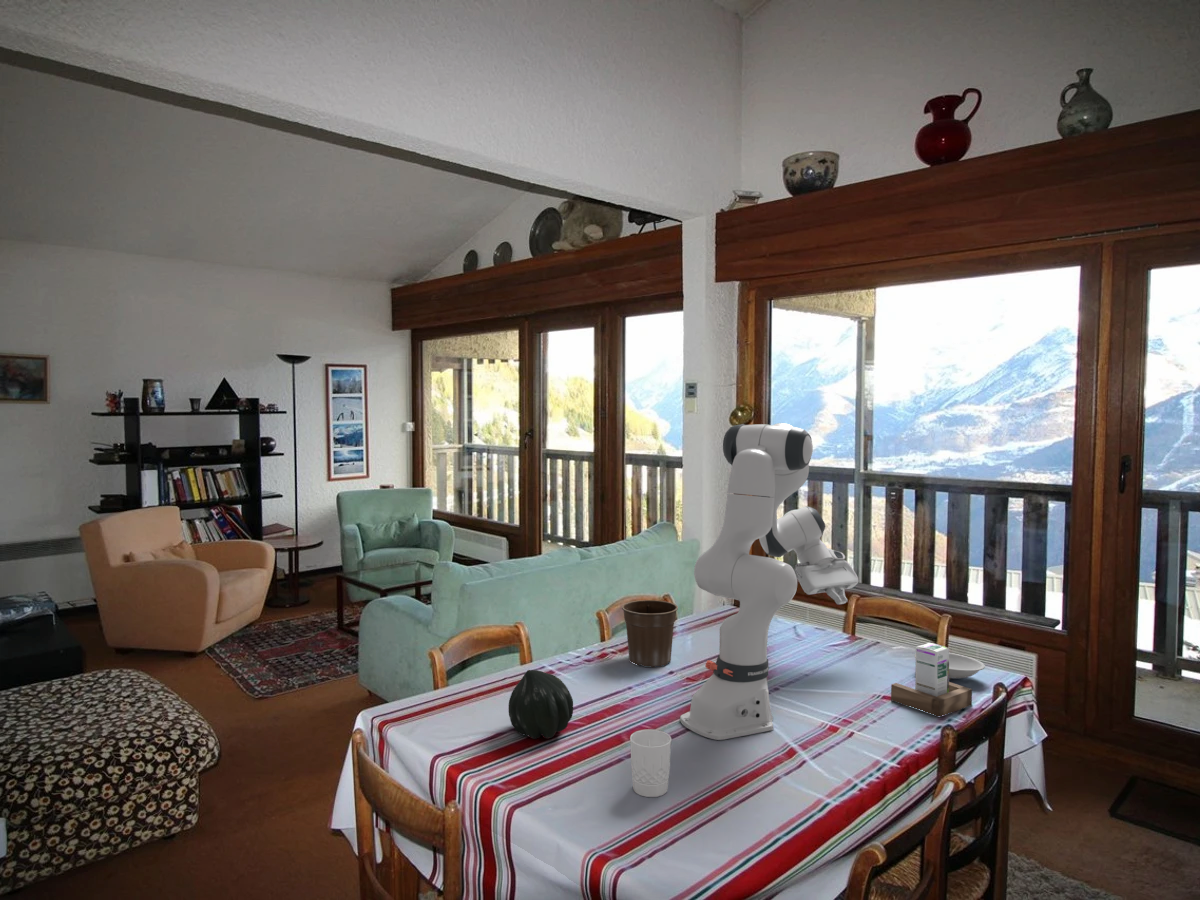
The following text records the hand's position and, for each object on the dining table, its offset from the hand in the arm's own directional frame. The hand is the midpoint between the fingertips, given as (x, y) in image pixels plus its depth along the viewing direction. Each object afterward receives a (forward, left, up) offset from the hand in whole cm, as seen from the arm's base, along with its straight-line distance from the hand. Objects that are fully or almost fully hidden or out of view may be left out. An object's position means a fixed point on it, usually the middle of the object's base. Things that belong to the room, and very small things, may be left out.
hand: (842, 602), depth 207 cm
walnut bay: (+1, -27, -20) cm, 33 cm away
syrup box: (0, -27, -20) cm, 34 cm away
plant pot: (-39, +37, -20) cm, 57 cm away
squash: (-89, +12, -20) cm, 92 cm away
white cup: (-84, -22, -20) cm, 89 cm away
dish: (+21, -19, -20) cm, 35 cm away
